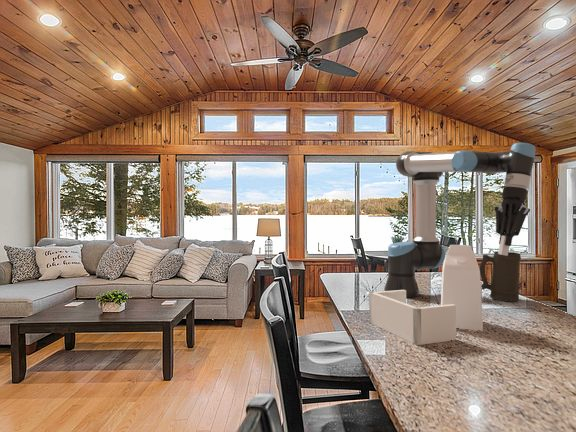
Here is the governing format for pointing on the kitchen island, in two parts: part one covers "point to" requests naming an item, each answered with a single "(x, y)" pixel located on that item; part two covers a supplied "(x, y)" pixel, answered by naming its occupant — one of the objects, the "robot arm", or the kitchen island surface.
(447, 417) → the kitchen island surface
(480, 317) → the milk
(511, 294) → the beer stein
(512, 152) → the robot arm
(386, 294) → the cubby
